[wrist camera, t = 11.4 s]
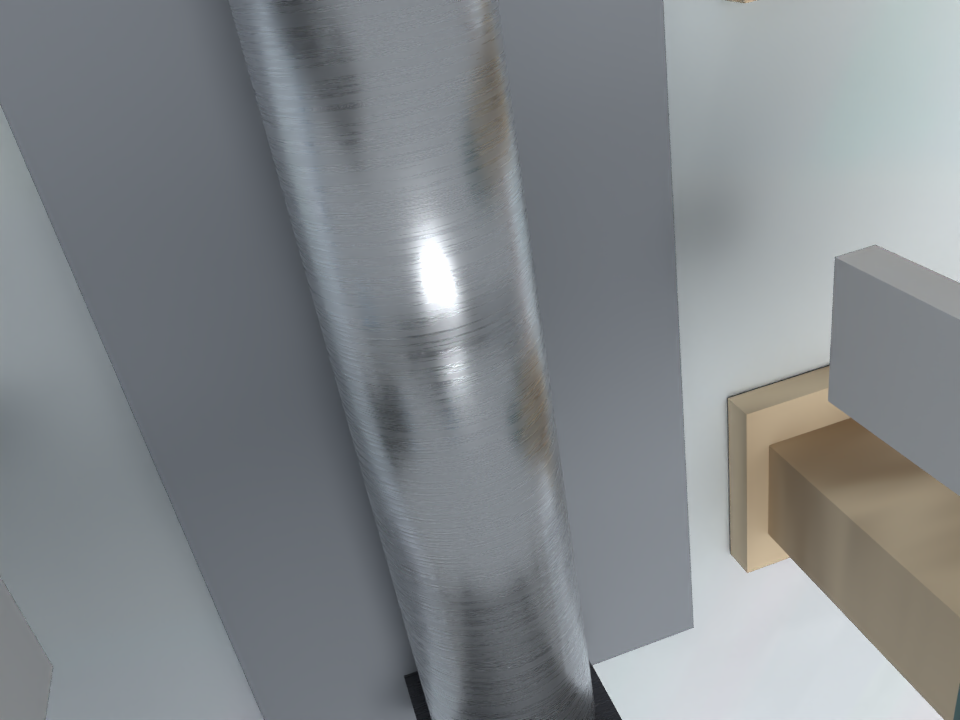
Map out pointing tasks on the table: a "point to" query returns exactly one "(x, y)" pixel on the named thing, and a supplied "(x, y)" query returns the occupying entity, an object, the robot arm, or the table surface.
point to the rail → (433, 334)
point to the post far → (850, 526)
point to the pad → (298, 336)
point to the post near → (742, 1)
